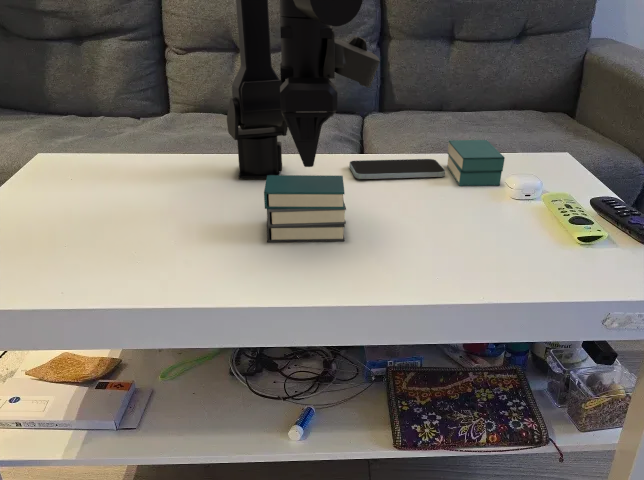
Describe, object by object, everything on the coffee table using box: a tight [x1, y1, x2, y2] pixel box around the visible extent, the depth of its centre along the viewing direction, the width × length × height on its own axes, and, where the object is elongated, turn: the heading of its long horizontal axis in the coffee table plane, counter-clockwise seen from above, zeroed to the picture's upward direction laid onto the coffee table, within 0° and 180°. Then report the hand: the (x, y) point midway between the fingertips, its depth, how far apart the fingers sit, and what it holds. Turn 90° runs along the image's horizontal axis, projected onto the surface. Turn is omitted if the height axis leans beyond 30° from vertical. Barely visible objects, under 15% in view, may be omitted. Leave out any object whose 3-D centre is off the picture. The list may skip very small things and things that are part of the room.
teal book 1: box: [263, 174, 345, 210], centre depth 86 cm, size 10×6×2 cm, turn 92°
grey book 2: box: [266, 220, 346, 243], centre depth 89 cm, size 10×6×2 cm, turn 94°
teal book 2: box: [447, 139, 506, 172], centre depth 108 cm, size 10×6×2 cm, turn 6°
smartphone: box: [348, 158, 446, 180], centre depth 110 cm, size 7×1×15 cm
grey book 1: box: [266, 202, 347, 227], centre depth 87 cm, size 10×6×2 cm, turn 97°
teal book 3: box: [446, 154, 503, 187], centre depth 109 cm, size 10×6×2 cm, turn 4°
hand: (307, 155), depth 84 cm, fingers open, 9 cm apart
